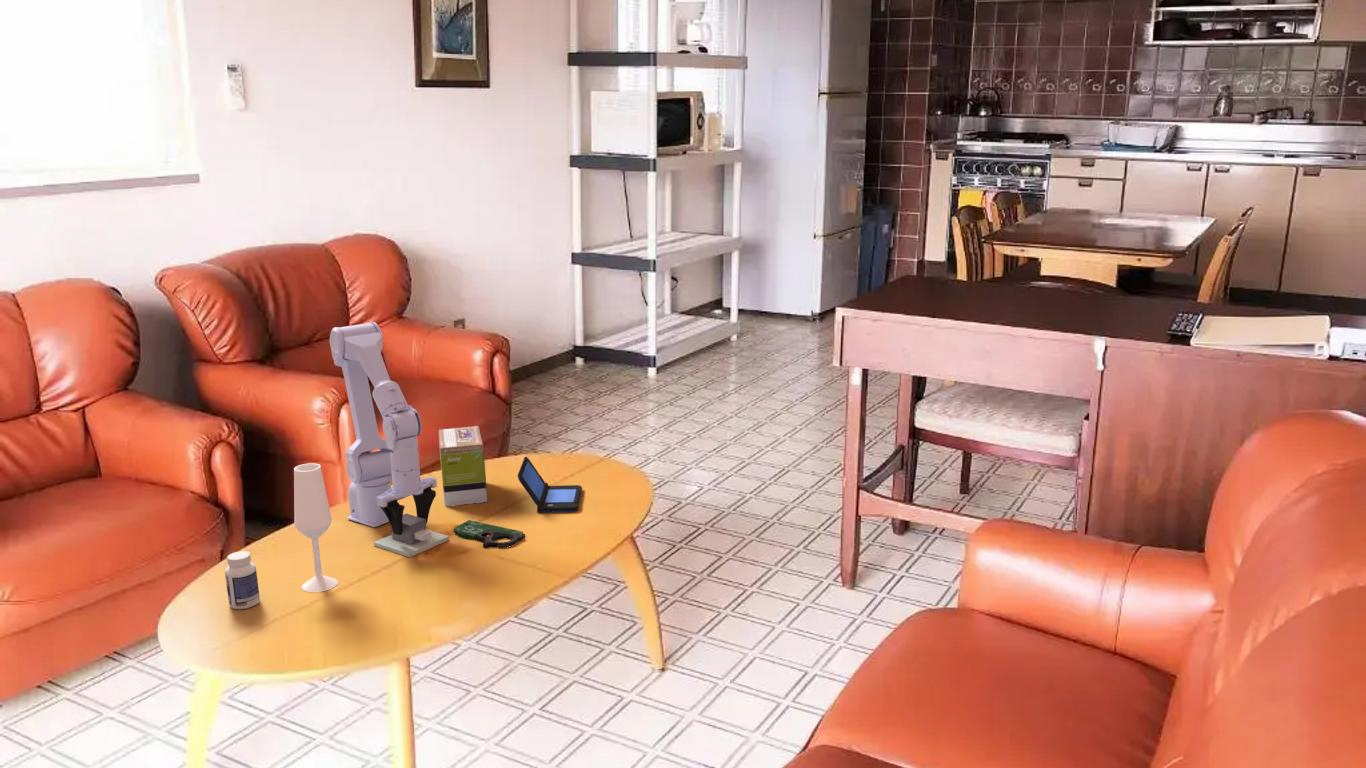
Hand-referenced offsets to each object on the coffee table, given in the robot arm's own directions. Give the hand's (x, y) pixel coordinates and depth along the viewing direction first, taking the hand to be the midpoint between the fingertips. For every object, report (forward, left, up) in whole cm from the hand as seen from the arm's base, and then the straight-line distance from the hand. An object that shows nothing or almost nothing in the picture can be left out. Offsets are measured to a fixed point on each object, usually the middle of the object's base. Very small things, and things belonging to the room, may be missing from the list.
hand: (410, 528), depth 229 cm
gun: (+11, +11, -4) cm, 16 cm away
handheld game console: (+8, +35, -4) cm, 36 cm away
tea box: (-12, +27, -3) cm, 30 cm away
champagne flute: (+1, -24, -3) cm, 24 cm away
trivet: (0, 0, -3) cm, 3 cm away
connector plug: (+1, 0, -2) cm, 3 cm away
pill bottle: (-4, -37, -3) cm, 37 cm away
